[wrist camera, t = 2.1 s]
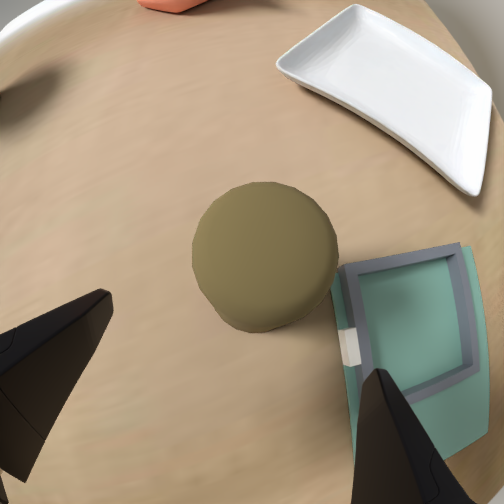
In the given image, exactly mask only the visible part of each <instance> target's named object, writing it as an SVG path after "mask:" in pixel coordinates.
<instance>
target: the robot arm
mask: <svg viewBox="0 0 504 504" xmlns="http://www.w3.org/2000/svg"><path fill="white" fill-rule="evenodd" d="M112 315H113V302H112V294H111V293H110V292H109V291H107V290H104V289H97V290H95V291H93V292H90V293H88V294H86V295H84V296H82V297H79V298H77V299H75V300H73V301H71V302H68V303H66V304H64V305H62V306H60V307H58V308H55V309H53V310H51V311H49V312H47V313H45V314H43V315H40V316H38V317H36V318H34V319H32V320H30V321H28V322H26V323H23V324H21V325H19V326H17V328H16V327H15V328H13V329H11V330H9V331H7V332H4V333H2V334H0V504H8V503H9V502H8V499H7V495H6V492H5V489H4V486H3V482H2V479H1V474H2V472H3V470H4V471H5V472H7V473H8V474H10V475H12V476H13V477H15V478H17V479H19V480H20V481H22V482H24V483H26V481H27V479H28V477H29V474H30V472H31V470H32V468H33V466H34V464H35V461H36V459H37V457H38V455H39V453H40V451H41V449H42V447H43V445H44V443H45V440H46V438H47V436H48V434H49V432H50V430H51V429H52V427H53V425H54V423H55V421H56V419H57V417H58V415H59V413H60V411H61V410H62V408H63V406H64V404H65V402H66V400H67V399H68V397H69V395H70V393H71V392H72V390H73V388H74V386H75V385H76V383H77V381H78V379H79V378H80V376H81V374H82V372H83V371H84V369H85V367H86V366H87V364H88V362H89V361H90V359H91V357H92V356H93V354H94V352H95V350H96V348H97V346H98V344H99V342H100V340H101V338H102V336H103V334H104V332H105V330H106V327H107V325H108V323H109V321H110V319H111V317H112ZM351 504H477V503H475V502H474V501H472V500H471V499H470V498H469V496H468V495H467V494H466V492H465V491H464V489H463V488H462V487H461V485H460V484H459V482H458V481H457V480H456V478H455V477H454V475H453V474H452V472H451V471H450V470H449V468H448V467H447V465H446V464H445V462H444V460H443V459H442V457H441V455H440V454H439V452H438V450H437V449H436V448H435V446H434V444H433V442H432V441H431V439H430V437H429V436H428V434H427V432H426V431H425V429H424V427H423V426H422V424H421V422H420V421H419V419H418V418H417V416H416V414H415V413H414V411H413V410H412V408H411V406H410V405H409V403H408V402H407V400H406V399H405V397H404V395H403V394H402V392H401V391H400V389H399V388H398V386H397V385H396V383H395V381H394V380H393V378H392V377H391V375H390V374H389V372H388V371H387V370H386V369H381V368H375V369H374V370H373V371H372V372H371V373H370V375H369V376H368V377H367V378H366V379H365V381H364V382H363V385H362V390H361V398H360V406H359V413H358V421H357V432H356V452H355V467H354V479H353V489H352V499H351Z"/></svg>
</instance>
